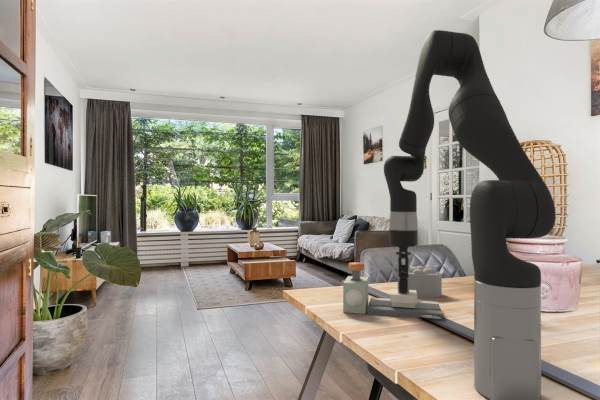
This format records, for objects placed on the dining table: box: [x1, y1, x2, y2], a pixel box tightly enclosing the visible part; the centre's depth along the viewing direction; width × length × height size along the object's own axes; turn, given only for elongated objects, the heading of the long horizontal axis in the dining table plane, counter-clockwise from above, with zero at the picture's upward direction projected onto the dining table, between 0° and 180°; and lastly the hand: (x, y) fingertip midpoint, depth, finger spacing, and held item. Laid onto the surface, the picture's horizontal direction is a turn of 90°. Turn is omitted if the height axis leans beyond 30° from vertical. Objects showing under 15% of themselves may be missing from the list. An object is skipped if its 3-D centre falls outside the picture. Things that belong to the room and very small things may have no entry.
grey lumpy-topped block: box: [408, 265, 443, 298], centre depth 126 cm, size 10×13×9 cm
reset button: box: [348, 261, 365, 281], centre depth 107 cm, size 4×4×7 cm
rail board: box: [366, 297, 444, 319], centre depth 104 cm, size 10×19×3 cm, turn 75°
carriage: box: [389, 272, 418, 308], centre depth 104 cm, size 7×7×8 cm
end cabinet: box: [342, 275, 370, 315], centre depth 107 cm, size 10×6×8 cm, turn 165°
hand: (403, 290), depth 104 cm, fingers closed on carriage, 3 cm apart
